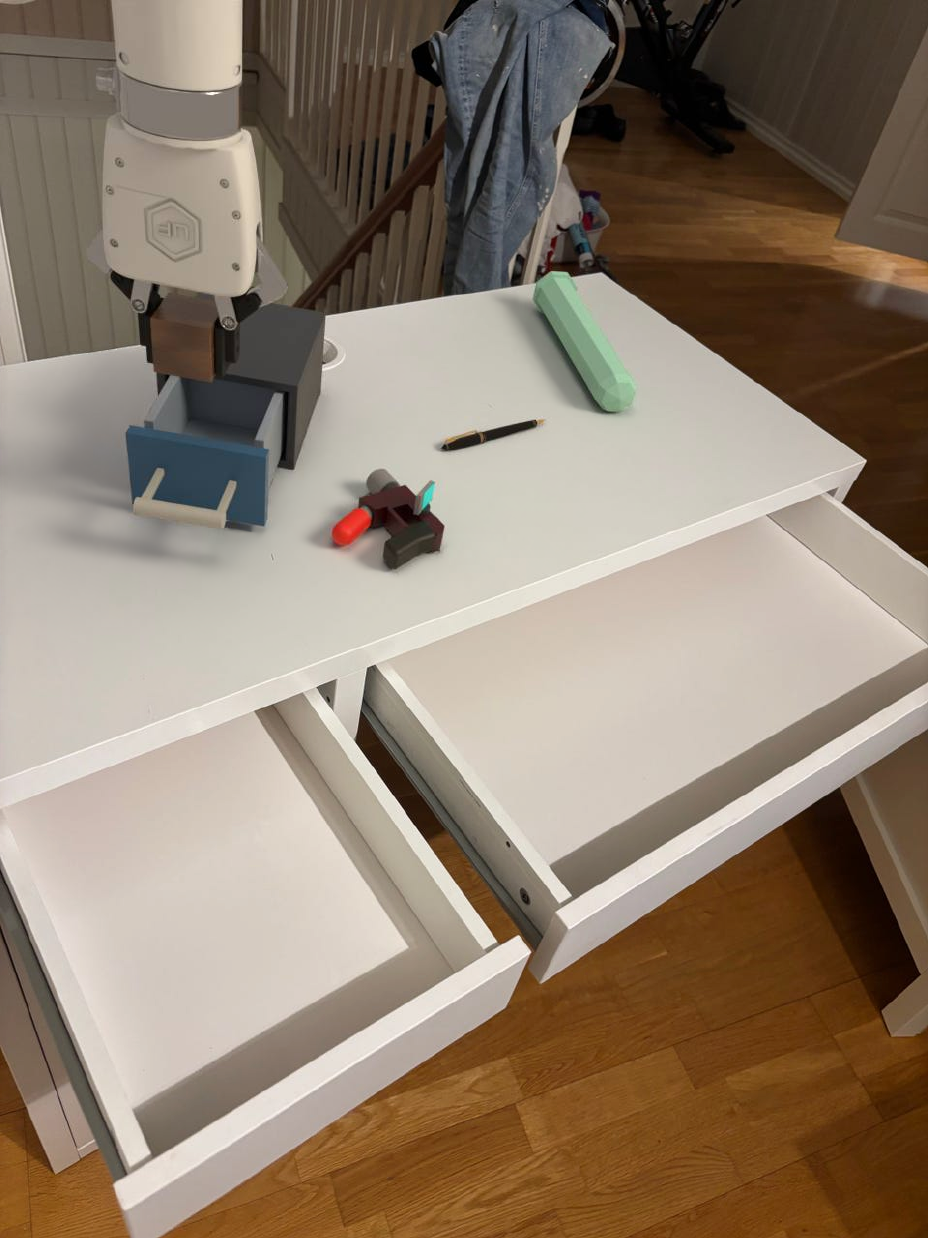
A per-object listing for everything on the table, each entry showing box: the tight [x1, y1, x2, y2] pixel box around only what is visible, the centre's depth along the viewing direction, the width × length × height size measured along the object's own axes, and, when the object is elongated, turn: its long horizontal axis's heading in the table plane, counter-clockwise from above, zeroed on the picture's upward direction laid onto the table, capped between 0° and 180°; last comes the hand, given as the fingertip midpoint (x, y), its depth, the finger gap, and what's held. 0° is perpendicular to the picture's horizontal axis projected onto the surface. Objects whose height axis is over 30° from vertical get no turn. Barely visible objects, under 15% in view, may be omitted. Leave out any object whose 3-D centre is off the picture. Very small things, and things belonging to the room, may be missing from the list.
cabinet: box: [155, 292, 327, 470], centre depth 92 cm, size 15×13×9 cm
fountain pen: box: [440, 419, 547, 452], centre depth 99 cm, size 14×1×2 cm, turn 126°
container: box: [532, 270, 638, 412], centre depth 113 cm, size 6×6×25 cm
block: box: [150, 292, 219, 383], centre depth 71 cm, size 4×4×4 cm
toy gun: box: [330, 468, 445, 570], centre depth 84 cm, size 10×12×5 cm
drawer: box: [124, 375, 289, 530], centre depth 82 cm, size 19×11×7 cm, turn 176°
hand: (191, 359), depth 72 cm, fingers closed on block, 4 cm apart
